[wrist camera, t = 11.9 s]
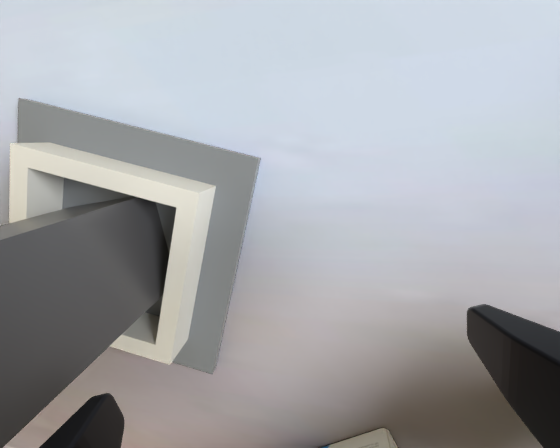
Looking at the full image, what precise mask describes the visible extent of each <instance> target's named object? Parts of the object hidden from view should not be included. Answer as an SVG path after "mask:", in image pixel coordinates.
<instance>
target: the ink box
mask: <svg viewBox="0 0 560 448" xmlns="http://www.w3.org/2000/svg"><path fill="white" fill-rule="evenodd" d="M322 448H398V447H397V445H396V443H395V441H394V440H393V438H392V436H391V434H390V431H389V430H387V429H385V428H380V429H377V430H374V431H371V432H368V433H365V434H362V435H359V436H356V437H353V438H350V439H346V440H343V441H340V442H337V443H334V444H331V445H328V446H325V447H322Z"/></svg>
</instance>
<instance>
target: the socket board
mask: <svg viewBox="0 0 560 448" xmlns="http://www.w3.org/2000/svg"><path fill="white" fill-rule="evenodd" d="M260 160H261V158H258V157H254V156H250V155H246V154H242V153H238V152H235V151H231V150H227V149H223V148H219V147H215V146H211V145H207V144H203V143H199V142H195V141H191V140H187V139H183V138H179V137H175V136H171V135H167V134H163V133H159V132H155V131H151V130H147V129H143V128H139V127H135V126H131V125H128V124H124V123H120V122H116V121H112V120H108V119H104V118H100V117H96V116H92V115H88V114H84V113H80V112H76V111H72V110H68V109H64V108H60V107H56V106H52V105H48V104H44V103H40V102H36V101H32V100H28V99H21V98H19V101H18V143H10V189H9V223H13V222H17V221H20V220H24V219H28V218H31V217H35V216H39V215H43V214H46V213H50V212H54V211H58V210H61V209H65V208H69V207H74V206H80V205H86V204H91V203H97V202H103V201H108V200H114V199H120V198H125V197H131V196H135V197H139V198H143V199H147V200H150V201H154V202H156V206H157V210H158V213H159V217H160V221H161V225H162V228H163V232H164V236H165V240H166V243H167V247H168V251H169V260H168V267H167V273H166V280H165V286H164V293H163V296H162V297H161V298H159V299H158V300H157V301H156V302H155V303H154V304H153V305H152V306H151V307H150V308H149V309H148V310H147V311H146V312H145V313H144V314H143V315H142V316H141V317H139V318H138V319H137V320H136V321H135V322H134V323H133V324H132V325H131V326H130V327H129V328H128V329H127V330H126V331H125V332H124V333H123V334H122V335H121V336H119V337H118V338H117V339H116V340H115V341H114V342H113V343H112V344H111V345H110V347H113V348H116V349H119V350H123V351H126V352H129V353H132V354H136V355H139V356H142V357H146V358H149V359H152V360H155V361H159V362H162V363H165V364H169V365H170V364H171V363H172V362H173V363H177V364H180V365H183V366H186V367H190V368H193V369H196V370H200V371H203V372H206V373H209V374H213V372H214V370H215V368H216V364H217V359H218V355H219V350H220V345H221V341H222V336H223V331H224V327H225V322H226V317H227V313H228V308H229V303H230V299H231V294H232V290H233V285H234V280H235V276H236V271H237V266H238V262H239V257H240V252H241V248H242V243H243V238H244V234H245V229H246V225H247V220H248V215H249V211H250V206H251V201H252V197H253V192H254V187H255V183H256V178H257V174H258V169H259V164H260Z"/></svg>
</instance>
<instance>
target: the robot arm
mask: <svg viewBox="0 0 560 448" xmlns="http://www.w3.org/2000/svg"><path fill="white" fill-rule="evenodd" d="M467 336H468V339H469V342H470V344H471V345H472V347H473V349H474V350H475V352H476V353H477V355H478V356H479V358H480V360H481V361H482V363H483V364H484V366H485V367H486V369H487V370H488V372H489V374H490V375H491V377H492V378H493V380H494V381H495V383H496V385H497V386H498V388H499V389H500V391H501V392H502V394H503V395H504V397H505V398H506V400H507V401H508V403H509V404H510V405H511V407H512V408H513V409H514V411H515V412H516V413H517V415H518V416H519V417H520V418H521V420H522V421H523V422H524V423H525V425H526V426H527V427H528V429H529V430H530V431H531V432H532V434H533V435H534V436H535V438H536V439H537V440H538V441H539V443H540V444H541V445H542V447H543V448H560V332H559V331H556V330H553V329H551V328H548V327H545V326H543V325H540V324H537V323H535V322H532V321H529V320H527V319H524V318H521V317H519V316H516V315H513V314H511V313H508V312H505V311H503V310H500V309H497V308H495V307H492V306H489V305H486V304H482V305H478V306H474V307H470V308H469V309H468V311H467ZM123 431H124V417H123V414H122V412H121V410H120V409H119V407H118V405H117V403H116V401H115V399H114V397H113V396H112V395H111V394H109V393H106V394H101V395H97V396H94V397H92V398H90V399H89V400H88V401H87V402H86V403H85V404H84V405H83V406H82V407H81V408H80V409H79V410H78V411H77V412H76V413H75V414H74V415H73V416H71V417H70V418H69V419H68V420H67V421H66V422H65V423H64V424H63V425H62V426H61V427H60V428H59V429H58V430H57V431H56V432H55V433H54V434H53V435H52V436H51V437H50V438H49V439H48V440H47V441H46V442H45V443H44V444H42V445H41V446H40V447H39V448H121V442H122V437H123Z"/></svg>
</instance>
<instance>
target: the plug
mask: <svg viewBox="0 0 560 448" xmlns="http://www.w3.org/2000/svg"><path fill="white" fill-rule="evenodd" d="M168 260H169V251H168V247H167V243H166V240H165V236H164V232H163V228H162V225H161V221H160V217H159V213H158V210H157V206H156V202H154V201H150V200H147V199H143V198H139V197H135V196H131V197H125V198H120V199H114V200H108V201H103V202H97V203H91V204H86V205H80V206H74V207H69V208H65V209H61V210H58V211H54V212H50V213H46V214H43V215H39V216H35V217H31V218H28V219H24V220H20V221H17V222H13V223H9V224H5V225H2V226H0V448H2V447H4V446H5V445H6V444H7V443H8V442H9V441H10V440H11V439H12V438H13V437H14V436H15V435H16V434H17V433H18V432H19V431H20V430H21V429H22V428H24V427H25V426H26V425H27V424H28V423H29V422H30V421H31V420H32V419H33V418H34V417H35V416H36V415H37V414H38V413H39V412H40V411H41V410H43V409H44V408H45V407H46V406H47V405H48V404H49V403H50V402H51V401H52V400H53V399H54V398H55V397H56V396H57V395H58V394H59V393H60V392H61V391H63V390H64V389H65V388H66V387H67V386H68V385H69V384H70V383H71V382H72V381H73V380H74V379H75V378H76V377H77V376H78V375H79V374H80V373H82V372H83V371H84V370H85V369H86V368H87V367H88V366H89V365H90V364H91V363H92V362H93V361H94V360H95V359H96V358H97V357H98V356H99V355H100V354H102V353H103V352H104V351H105V350H106V349H107V348H108V347H109V346H110V345H111V344H112V343H113V342H114V341H115V340H116V339H117V338H118V337H119V336H121V335H122V334H123V333H124V332H125V331H126V330H127V329H128V328H129V327H130V326H131V325H132V324H133V323H134V322H135V321H136V320H137V319H138V318H139V317H141V316H142V315H143V314H144V313H145V312H146V311H147V310H148V309H149V308H150V307H151V306H152V305H153V304H154V303H155V302H156V301H157V300H158V299H159V298H161V297H162V296H163V293H164V286H165V280H166V273H167V267H168Z"/></svg>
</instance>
